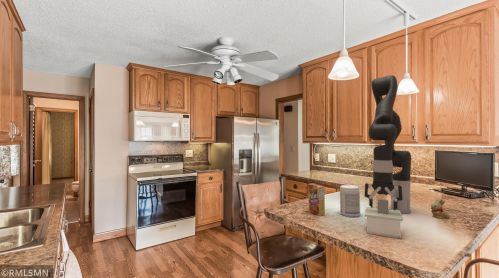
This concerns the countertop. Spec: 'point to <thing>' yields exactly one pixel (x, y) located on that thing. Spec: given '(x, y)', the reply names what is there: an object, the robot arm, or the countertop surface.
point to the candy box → (316, 199)
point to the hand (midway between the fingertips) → (382, 208)
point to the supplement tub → (349, 200)
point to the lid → (383, 212)
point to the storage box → (383, 227)
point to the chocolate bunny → (439, 210)
